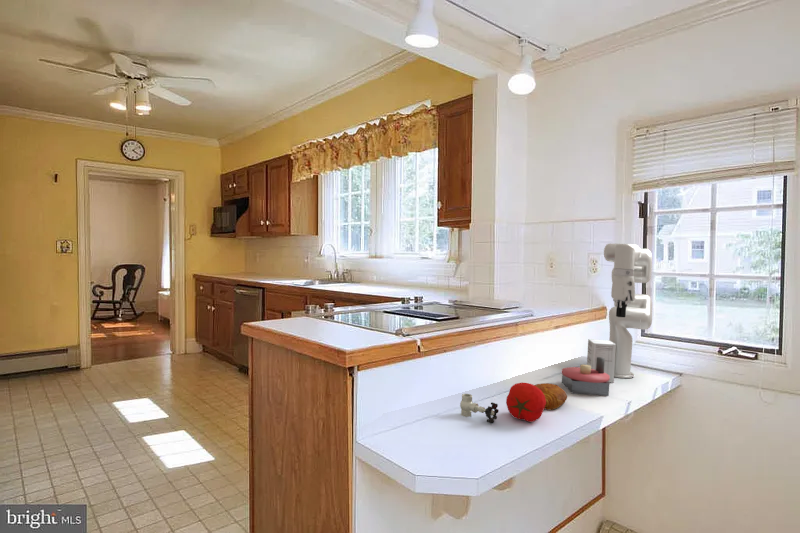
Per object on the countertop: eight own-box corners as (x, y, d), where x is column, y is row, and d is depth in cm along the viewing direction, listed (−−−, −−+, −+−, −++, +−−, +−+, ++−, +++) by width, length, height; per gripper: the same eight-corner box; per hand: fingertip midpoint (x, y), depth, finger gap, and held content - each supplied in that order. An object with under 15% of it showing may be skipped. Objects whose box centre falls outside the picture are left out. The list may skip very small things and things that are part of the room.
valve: (455, 415, 147) (488, 426, 139) (456, 395, 147) (489, 405, 139) (465, 410, 152) (498, 420, 144) (466, 391, 152) (499, 400, 144)
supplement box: (607, 377, 202) (610, 340, 202) (614, 383, 193) (616, 344, 193) (585, 375, 204) (587, 338, 203) (591, 381, 195) (593, 342, 194)
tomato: (525, 420, 154) (512, 433, 143) (507, 385, 157) (492, 396, 146) (558, 407, 148) (547, 420, 137) (538, 371, 151) (526, 381, 140)
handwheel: (580, 383, 171) (581, 364, 171) (552, 370, 189) (553, 353, 188) (619, 381, 176) (621, 363, 176) (588, 369, 193) (589, 352, 193)
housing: (561, 382, 190) (562, 371, 190) (595, 385, 189) (596, 373, 189) (571, 393, 176) (572, 380, 176) (608, 395, 175) (609, 383, 175)
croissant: (571, 409, 165) (574, 387, 165) (555, 414, 153) (558, 390, 153) (533, 398, 174) (536, 377, 174) (516, 402, 162) (519, 379, 163)
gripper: (643, 274, 181) (640, 320, 182) (621, 272, 196) (618, 314, 197) (625, 274, 181) (622, 319, 181) (605, 272, 195) (602, 314, 196)
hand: (620, 316), depth 189 cm, fingers closed
